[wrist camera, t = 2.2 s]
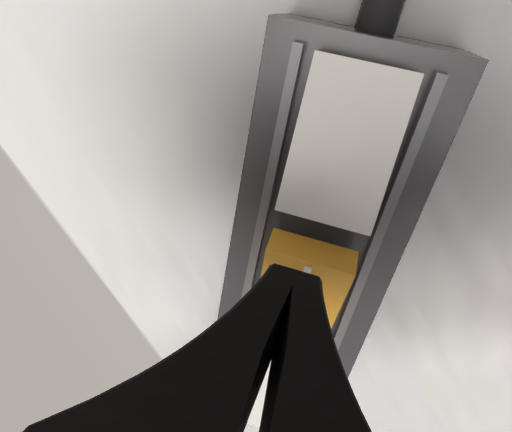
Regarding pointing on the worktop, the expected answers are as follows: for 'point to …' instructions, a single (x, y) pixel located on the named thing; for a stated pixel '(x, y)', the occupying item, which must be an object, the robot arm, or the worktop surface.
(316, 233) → the power strip
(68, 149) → the worktop surface
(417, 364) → the worktop surface
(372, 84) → the plate
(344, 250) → the block
